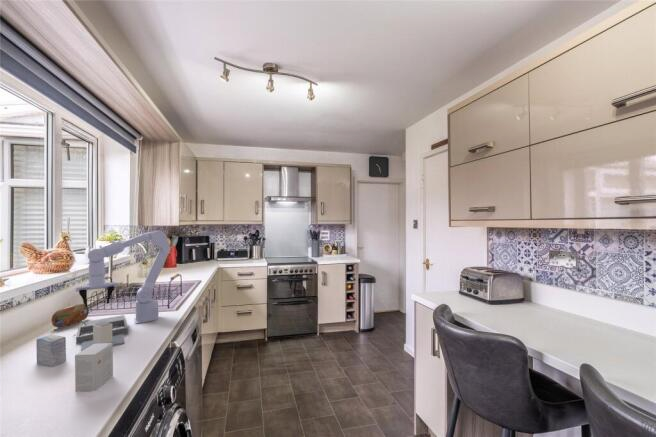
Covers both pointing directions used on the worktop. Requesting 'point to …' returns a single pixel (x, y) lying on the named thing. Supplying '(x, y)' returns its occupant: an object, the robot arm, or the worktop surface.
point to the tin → (70, 316)
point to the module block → (102, 332)
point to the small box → (93, 366)
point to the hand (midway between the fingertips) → (97, 304)
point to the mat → (115, 340)
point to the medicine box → (51, 350)
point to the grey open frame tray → (89, 324)
